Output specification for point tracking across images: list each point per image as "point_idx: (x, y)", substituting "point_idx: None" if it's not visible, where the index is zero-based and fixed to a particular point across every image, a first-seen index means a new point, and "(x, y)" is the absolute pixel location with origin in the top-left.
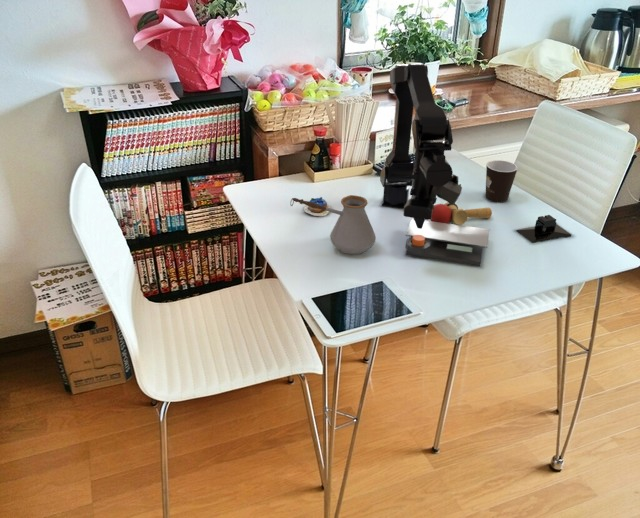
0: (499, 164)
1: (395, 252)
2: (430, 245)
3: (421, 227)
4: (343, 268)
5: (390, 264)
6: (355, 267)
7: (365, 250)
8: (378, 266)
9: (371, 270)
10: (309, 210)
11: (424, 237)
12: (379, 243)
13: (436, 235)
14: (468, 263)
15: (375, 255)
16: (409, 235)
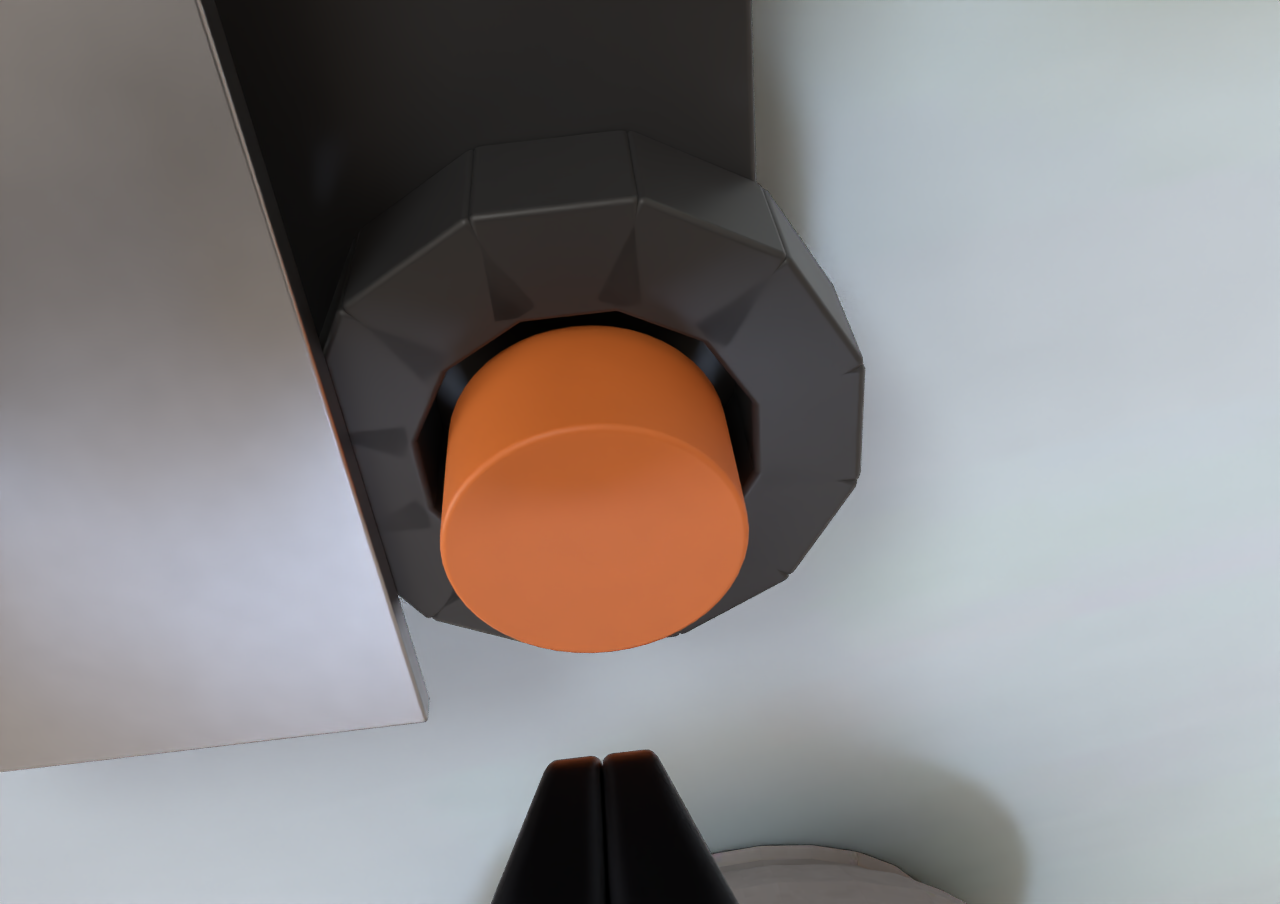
0: None
1: None
2: (326, 167)
3: (671, 792)
4: (1239, 876)
5: (1075, 549)
6: (1207, 811)
7: (922, 885)
8: (1154, 647)
9: (1266, 679)
10: None
11: (526, 448)
12: None
13: (35, 181)
14: None
15: (872, 744)
16: (413, 666)
